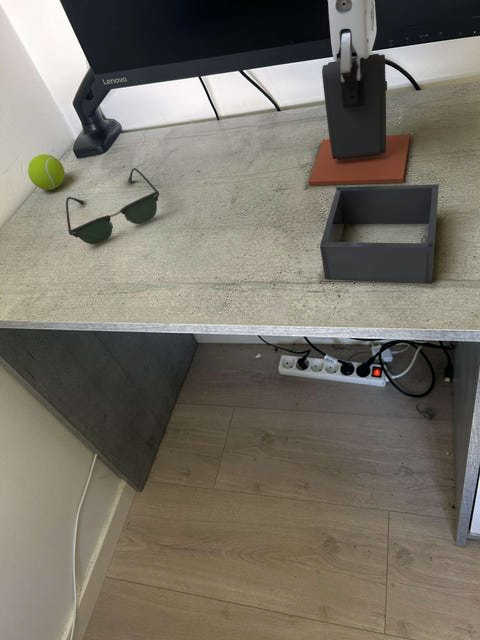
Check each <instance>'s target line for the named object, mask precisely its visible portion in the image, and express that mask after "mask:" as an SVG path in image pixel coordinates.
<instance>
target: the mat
mask: <svg viewBox="0 0 480 640" xmlns="http://www.w3.org/2000/svg"><path fill="white" fill-rule="evenodd" d="M410 139H411V134H410V133H406V134H405V133H404V134H403V133H402V134H389V135H386V152H385V153H381V155H375V156H367V157H359V158H351V159H343V160H337V159H333V158H332V152H331V145H330V138H328V139H322V141H321V144H320V148H319V150H318V153H317V156H316V159H315V162H314V165H313V168H312V170H311V173H310V175H309V176H310V177H309V178H308V179H309V180H308V186H340V185H341V186H342V185H344V186H345V185H371V184H376V185H377V184H378V185H379V184H403V183H404V177H405V171H406V165H407V159H408V152H409V145H410Z"/></svg>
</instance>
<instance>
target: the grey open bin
mask: <svg viewBox="0 0 480 640" xmlns="http://www.w3.org/2000/svg"><path fill="white" fill-rule="evenodd" d="M439 190H440V183H439V184H438V183H436V184H434V183H432V184H408V185H407V184H400V185H398V184H397V185H369V186H368V185H367V186H366V185H365V186H336V187H335V191H334V196H333V199H332V202H331V205H330V209H329V212H328V216H327V220H326V224H325V227H324V230H323V234H322V237H321V241H320V245H319V249H320V255H321V263H322V269H323V274H324V275H323V276H324V279H325V280H333V281H334V280H336V281H337V280H338V281H360V282H361V281H362V282H363V281H364V282H365V281H366V282H386V283H387V282H388V283H410V284H412V283H413V284H432V281H433V270H434V269H433V268H434V257H435V256H434V255H435V246H436V245H435V244H436V243H435V242H436V230H437V217H438V204H439V203H438V202H439ZM350 224H351V225H352V224H353V225H371V224H372V225H376V224H377V225H391V224H393V225H395V224H396V225H398V224H400V225H402V224H404V225H407V224H408V225H410V224H412V225H414V224H421V225H422V224H423V225H424V224H427V225H428V229H427V240H426V241H427V242H361V241H360V242H356V241H355V242H353V241H351V242H349V241H348V242H347V241H344V242H343V241H341V240H342V235H343V231H344V227H345V225H350Z"/></svg>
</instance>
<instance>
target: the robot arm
mask: <svg viewBox="0 0 480 640" xmlns="http://www.w3.org/2000/svg"><path fill="white" fill-rule="evenodd" d="M327 3H328V21H329V33H330V43H331V52H332V58H333V60H334V61H336V62H339V61H340V70H341V91H342V102H343V107H344V108H351V107H362V106H364V104H365V94H364V78H361V58H364V59H367V58H368V57H369V55H372V54H371V53H372V51H373V47H374V45H375V40H376V38H377V37H376V36H377V17H376V16H377V15H376V1H375V0H327ZM352 62H356V68H355V66H352Z"/></svg>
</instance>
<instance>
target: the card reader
mask: <svg viewBox="0 0 480 640" xmlns="http://www.w3.org/2000/svg"><path fill="white" fill-rule="evenodd" d="M352 66H355V68H356V62H352ZM321 75H322V77H321V78H322V86H323V95H324V104H325V105H324V106H325V113H326V121H327V123H326V124H327V130H328V139H330V145H331V152H332V158H333V159H337V160H343V159H351V158H359V157H367V156H375V155H381V153H385V152H386V136H387V91H388V81H387V80H386V56H385V54H379V53H374V54H373V53H372V54H370V55H369V57H368V58H367V59H364V58H361V78H364V94H365V104H364V106H362V107H351V108H344V107H343V102H342V91H341V70H340V61H339V62H336V61H335V60H334V61H329V62H328V63H327V64H324V65H322V69H321Z"/></svg>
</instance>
